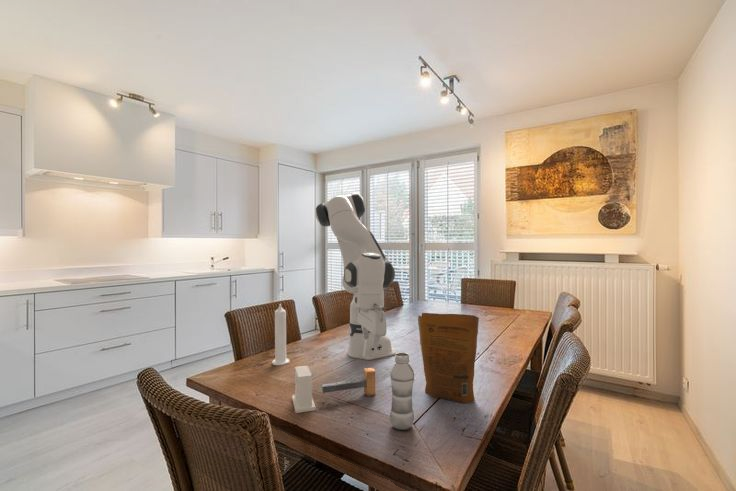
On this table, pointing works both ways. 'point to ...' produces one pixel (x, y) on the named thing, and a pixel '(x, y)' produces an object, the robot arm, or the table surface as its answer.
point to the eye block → (303, 390)
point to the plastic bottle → (402, 393)
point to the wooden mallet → (354, 384)
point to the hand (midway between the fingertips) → (370, 342)
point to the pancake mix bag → (449, 354)
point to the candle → (280, 337)
